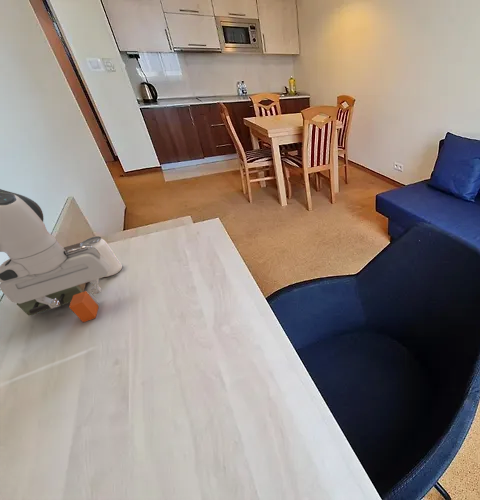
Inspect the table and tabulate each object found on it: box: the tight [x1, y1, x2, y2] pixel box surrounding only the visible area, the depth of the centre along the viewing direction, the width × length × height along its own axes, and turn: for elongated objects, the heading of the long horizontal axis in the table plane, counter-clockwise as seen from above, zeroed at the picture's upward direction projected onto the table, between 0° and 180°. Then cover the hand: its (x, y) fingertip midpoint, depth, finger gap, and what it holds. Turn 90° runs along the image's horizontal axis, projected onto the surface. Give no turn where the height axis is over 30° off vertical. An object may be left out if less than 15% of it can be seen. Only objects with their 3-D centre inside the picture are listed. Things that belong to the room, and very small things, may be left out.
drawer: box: [16, 282, 87, 317], centre depth 89 cm, size 19×13×5 cm
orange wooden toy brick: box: [68, 290, 100, 323], centre depth 82 cm, size 3×7×6 cm, turn 28°
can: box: [80, 236, 123, 278], centre depth 96 cm, size 6×6×12 cm
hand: (77, 298), depth 81 cm, fingers open, 8 cm apart
